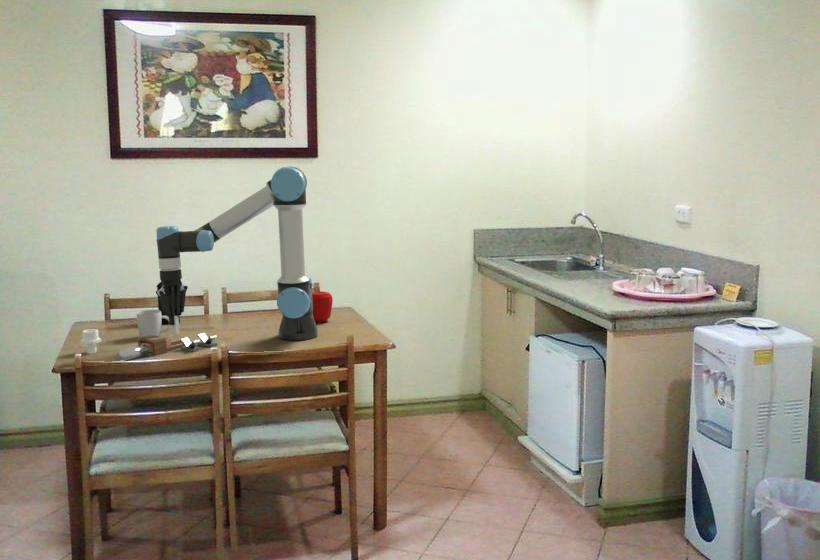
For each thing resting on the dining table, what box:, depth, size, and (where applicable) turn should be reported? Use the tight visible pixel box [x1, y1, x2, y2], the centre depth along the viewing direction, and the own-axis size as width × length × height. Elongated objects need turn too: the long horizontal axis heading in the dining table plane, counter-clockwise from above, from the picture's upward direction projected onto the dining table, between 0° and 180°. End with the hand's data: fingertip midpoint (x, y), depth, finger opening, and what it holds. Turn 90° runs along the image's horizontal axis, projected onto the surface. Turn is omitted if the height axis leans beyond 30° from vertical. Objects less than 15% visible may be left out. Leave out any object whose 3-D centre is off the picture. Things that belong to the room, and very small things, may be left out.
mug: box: [136, 309, 171, 337], centre depth 299 cm, size 13×9×10 cm
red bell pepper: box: [312, 289, 333, 324], centre depth 327 cm, size 10×10×14 cm
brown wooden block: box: [141, 337, 172, 353], centre depth 278 cm, size 3×10×4 cm, turn 148°
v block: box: [179, 332, 218, 353], centre depth 283 cm, size 7×11×4 cm, turn 148°
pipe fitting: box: [79, 328, 102, 355], centre depth 276 cm, size 6×7×8 cm
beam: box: [137, 335, 184, 357], centre depth 281 cm, size 9×21×5 cm, turn 148°
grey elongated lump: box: [116, 344, 149, 361], centre depth 269 cm, size 10×4×4 cm, turn 147°
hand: (175, 333), depth 284 cm, fingers closed
